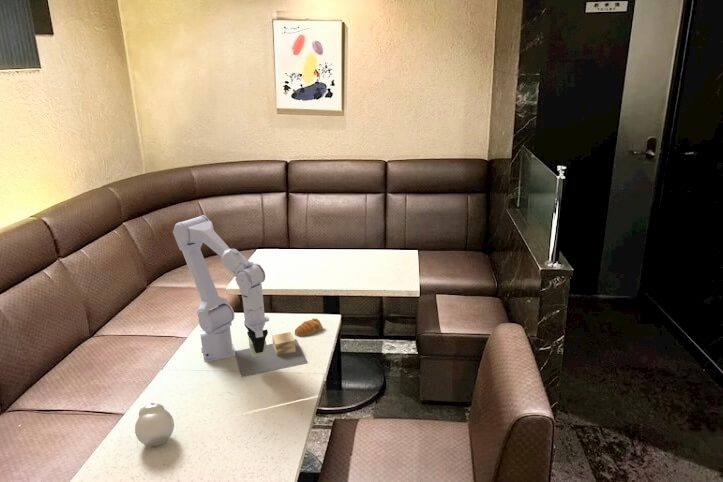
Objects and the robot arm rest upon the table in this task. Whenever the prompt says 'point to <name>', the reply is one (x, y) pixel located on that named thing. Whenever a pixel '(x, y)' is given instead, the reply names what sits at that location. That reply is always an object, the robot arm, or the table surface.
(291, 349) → the tower base slab
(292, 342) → the tower top slab
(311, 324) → the pastry
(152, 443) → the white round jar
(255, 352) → the green block
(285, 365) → the mat
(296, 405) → the table surface
